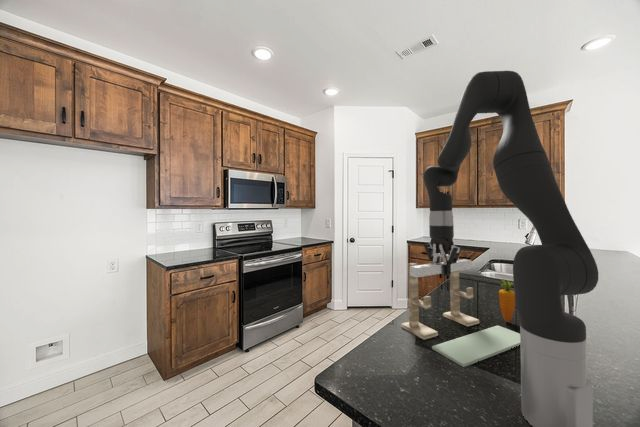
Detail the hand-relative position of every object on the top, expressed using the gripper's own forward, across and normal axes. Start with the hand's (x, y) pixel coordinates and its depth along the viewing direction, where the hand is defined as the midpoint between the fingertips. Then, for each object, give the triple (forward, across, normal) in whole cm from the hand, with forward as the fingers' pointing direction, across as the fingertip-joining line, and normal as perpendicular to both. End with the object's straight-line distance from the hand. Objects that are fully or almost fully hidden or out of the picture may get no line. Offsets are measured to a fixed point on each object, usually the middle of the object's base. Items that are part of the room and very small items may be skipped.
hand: (442, 274), depth 90 cm
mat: (+18, +14, 0) cm, 23 cm away
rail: (-1, 0, 0) cm, 1 cm away
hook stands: (+18, 0, 0) cm, 18 cm away
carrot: (+18, +8, +22) cm, 30 cm away
